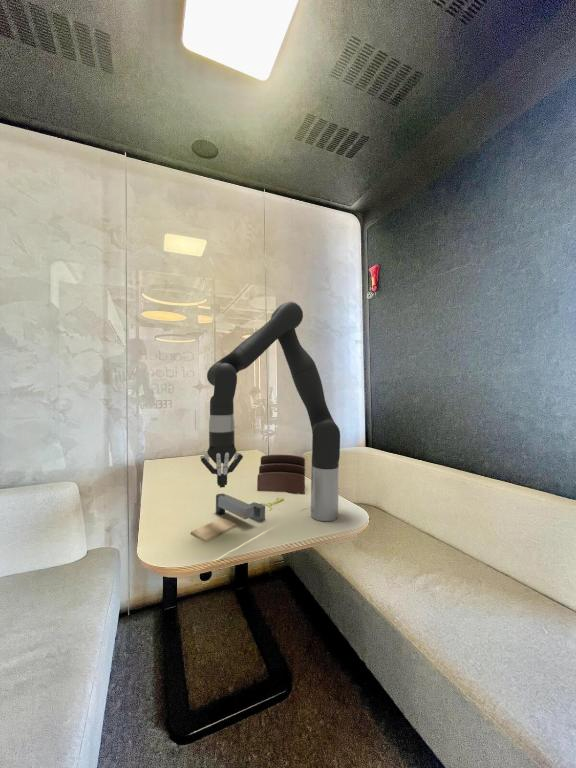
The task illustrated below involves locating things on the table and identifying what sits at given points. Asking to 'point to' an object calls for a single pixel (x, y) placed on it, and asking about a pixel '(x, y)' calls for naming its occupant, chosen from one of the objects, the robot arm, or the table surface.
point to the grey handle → (233, 506)
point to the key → (272, 503)
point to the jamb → (258, 512)
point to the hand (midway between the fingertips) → (222, 486)
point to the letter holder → (282, 474)
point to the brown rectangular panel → (213, 529)
